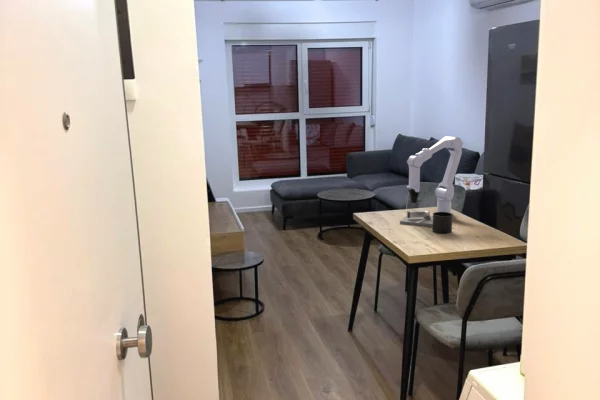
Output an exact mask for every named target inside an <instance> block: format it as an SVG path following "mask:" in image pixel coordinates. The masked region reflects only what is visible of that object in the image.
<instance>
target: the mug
mask: <svg viewBox="0 0 600 400" xmlns="http://www.w3.org/2000/svg"><path fill="white" fill-rule="evenodd" d="M451 213H452V212H451ZM451 213H448V212H437V211H435V212H433V213H432V216H433V227H431V228H432V232H433V233H435V234H442V235H446V234H447V235H448V234H450V233H452V232H453V213H452V214H451Z"/></svg>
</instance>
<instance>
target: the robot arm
mask: <svg viewBox="0 0 600 400" xmlns="http://www.w3.org/2000/svg"><path fill="white" fill-rule="evenodd" d="M463 144H464V142H463V141H462V138H461V137H459V136H452V135H451V136H450V135H445V136H444V137H442V138H441V139H440V140H439V141H437V142H436V143H435V144H433V145H432V146H431V147H429V148H422V149H421V150H420V151H419V152H417V153H415V154H414V155H409V157H408V159H407V160H406V163H407V165H408V185H406V189H408V190H407V191H408V194H409V198H410V202H411V204H414V203H415V204H416V203H417V200H418V197H419V195H420V193H421V191H420V190H421V189H420V188H421V186H420V183H421V182H420V181H421V167H422V166H423V163H425V162H426V161H427V160H429V159H431V158H432V157H433V155H434V154H435V153H437V152H439V151H440V150H443V149H444V148H446V150H448V152H449V153H450V156H449V159H448V163H447V166H446V168H445V173H444V175H443V179H442V181H441V182H440V183H438V186H437V187H436V188H435V190H434V195H435V197H436V199H437V202H436V203H437V205H436V212H448V213H451V214H452V215H453V212H452V200H453V198H454V195H455V193H454V192H455V187H454V185H453V183H454V180H455V176H456V173H457V170H458V167H459V164H460V161H461V157H462V155H463Z"/></svg>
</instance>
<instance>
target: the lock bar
mask: <svg viewBox="0 0 600 400" xmlns="http://www.w3.org/2000/svg"><path fill="white" fill-rule="evenodd" d="M406 216H407V218H417V217H430V216H431V211H430V210H413V211H409V210H407V211H406Z"/></svg>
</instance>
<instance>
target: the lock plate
mask: <svg viewBox="0 0 600 400" xmlns="http://www.w3.org/2000/svg"><path fill="white" fill-rule="evenodd" d="M430 217H431V219H428V220H427V219H424V217H417V218H407V215H406V216H404V217H403V218H402V219H400V221H399V224H400V225H406V226H407V225H409V226H416V227H417V226H418V227H429V228H433V215H430Z"/></svg>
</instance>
